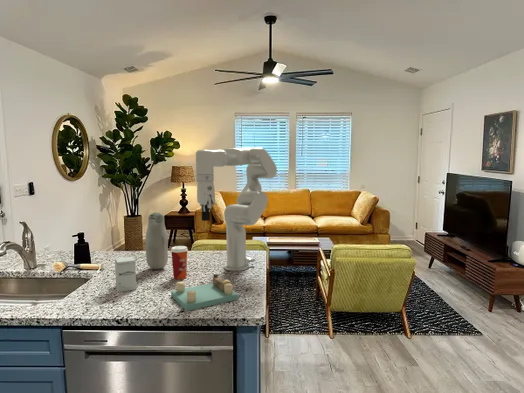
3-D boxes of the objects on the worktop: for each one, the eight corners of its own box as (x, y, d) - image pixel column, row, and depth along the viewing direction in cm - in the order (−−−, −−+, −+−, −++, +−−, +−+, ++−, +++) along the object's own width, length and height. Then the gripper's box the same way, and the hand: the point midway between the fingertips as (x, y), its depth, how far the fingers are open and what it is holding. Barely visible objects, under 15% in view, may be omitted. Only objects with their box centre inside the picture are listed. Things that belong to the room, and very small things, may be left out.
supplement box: (117, 292, 148) (116, 262, 147) (115, 287, 155) (114, 258, 154) (136, 289, 152) (135, 260, 151) (134, 284, 158) (132, 255, 157)
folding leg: (212, 283, 152) (211, 274, 151) (217, 282, 153) (217, 273, 153) (224, 291, 143) (223, 281, 142) (229, 290, 144) (229, 280, 143)
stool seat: (219, 286, 155) (219, 273, 155) (238, 299, 141) (238, 285, 140) (171, 295, 145) (171, 282, 144) (186, 311, 130) (185, 296, 130)
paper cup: (184, 280, 163) (183, 249, 162) (168, 279, 164) (167, 249, 163) (191, 275, 171) (190, 245, 169) (175, 274, 172) (175, 245, 171)
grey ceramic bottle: (142, 270, 178) (140, 213, 175) (156, 264, 188) (154, 210, 185) (159, 272, 174) (157, 214, 172) (172, 266, 184) (170, 211, 181)
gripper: (220, 179, 155) (220, 221, 157) (206, 177, 167) (207, 217, 169) (203, 179, 151) (204, 223, 153) (190, 178, 164) (191, 218, 165)
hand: (205, 220), depth 161 cm, fingers closed
